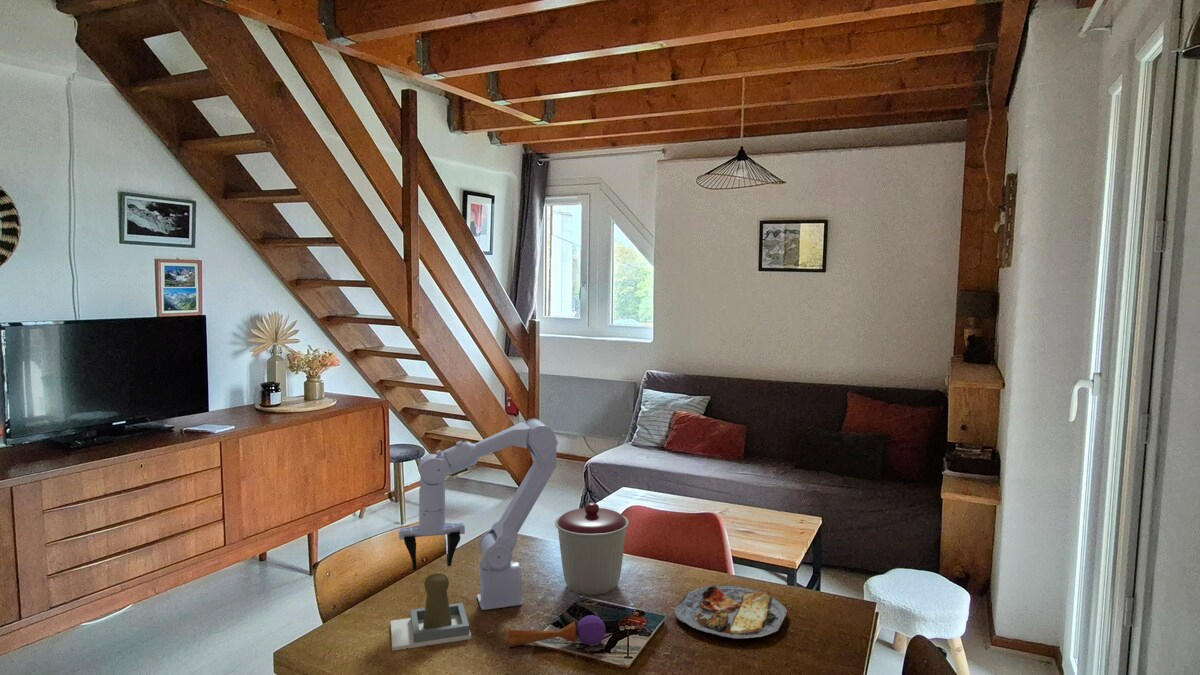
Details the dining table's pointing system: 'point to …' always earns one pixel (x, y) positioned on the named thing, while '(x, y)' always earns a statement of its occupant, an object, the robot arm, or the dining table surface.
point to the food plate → (717, 604)
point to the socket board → (415, 635)
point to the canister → (591, 548)
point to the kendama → (563, 633)
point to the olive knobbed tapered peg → (437, 602)
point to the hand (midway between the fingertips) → (431, 566)
